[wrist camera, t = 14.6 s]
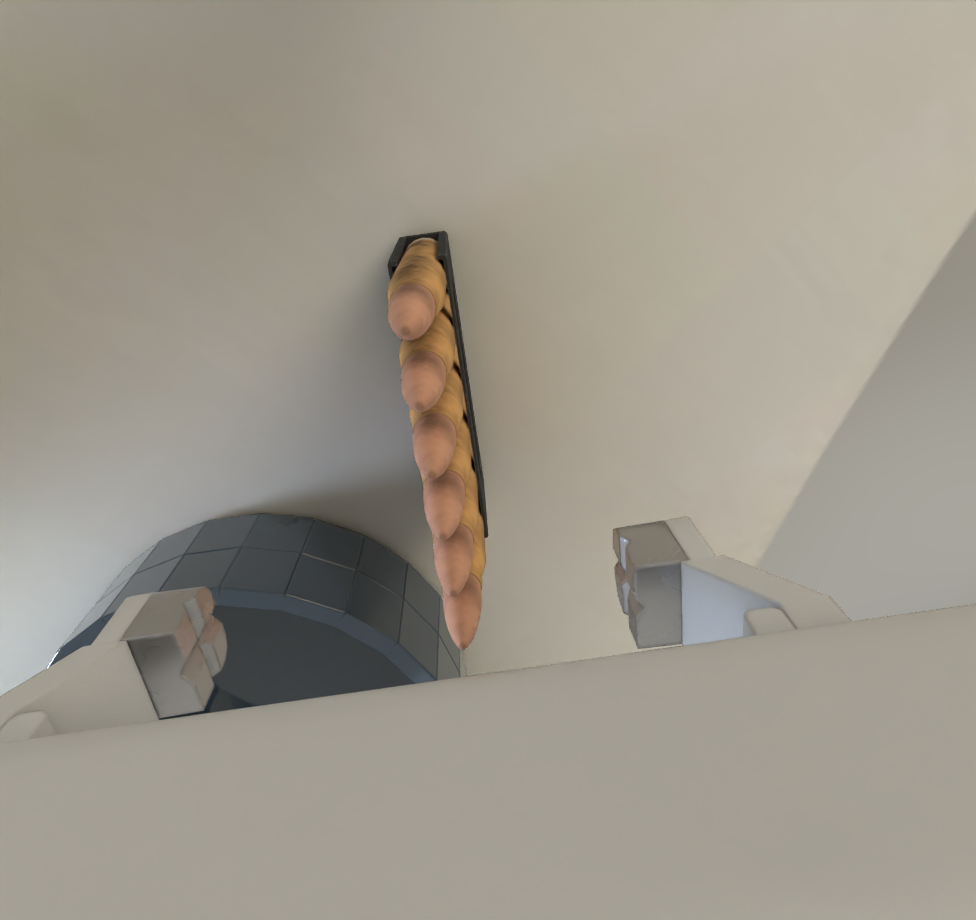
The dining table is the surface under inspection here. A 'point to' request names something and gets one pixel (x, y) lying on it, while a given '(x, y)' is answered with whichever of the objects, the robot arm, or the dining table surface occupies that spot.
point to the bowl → (294, 609)
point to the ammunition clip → (441, 421)
